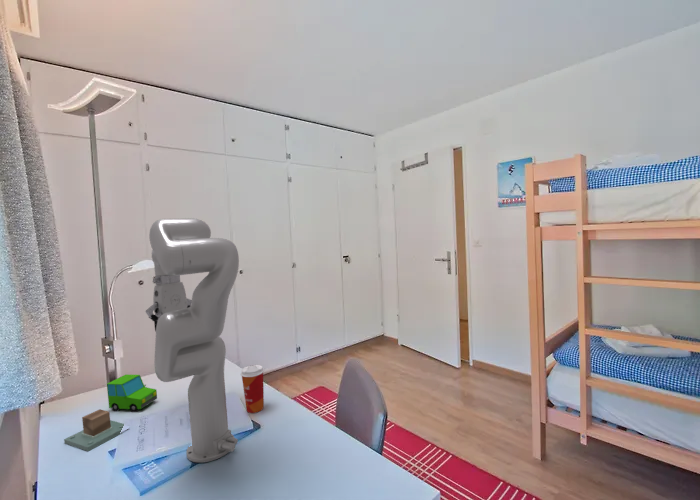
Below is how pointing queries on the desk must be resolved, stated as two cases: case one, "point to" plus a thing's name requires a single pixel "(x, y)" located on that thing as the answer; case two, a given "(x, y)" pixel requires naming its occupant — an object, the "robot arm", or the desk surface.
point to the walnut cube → (96, 422)
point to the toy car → (129, 393)
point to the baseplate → (94, 437)
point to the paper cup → (253, 388)
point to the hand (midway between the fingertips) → (172, 328)
